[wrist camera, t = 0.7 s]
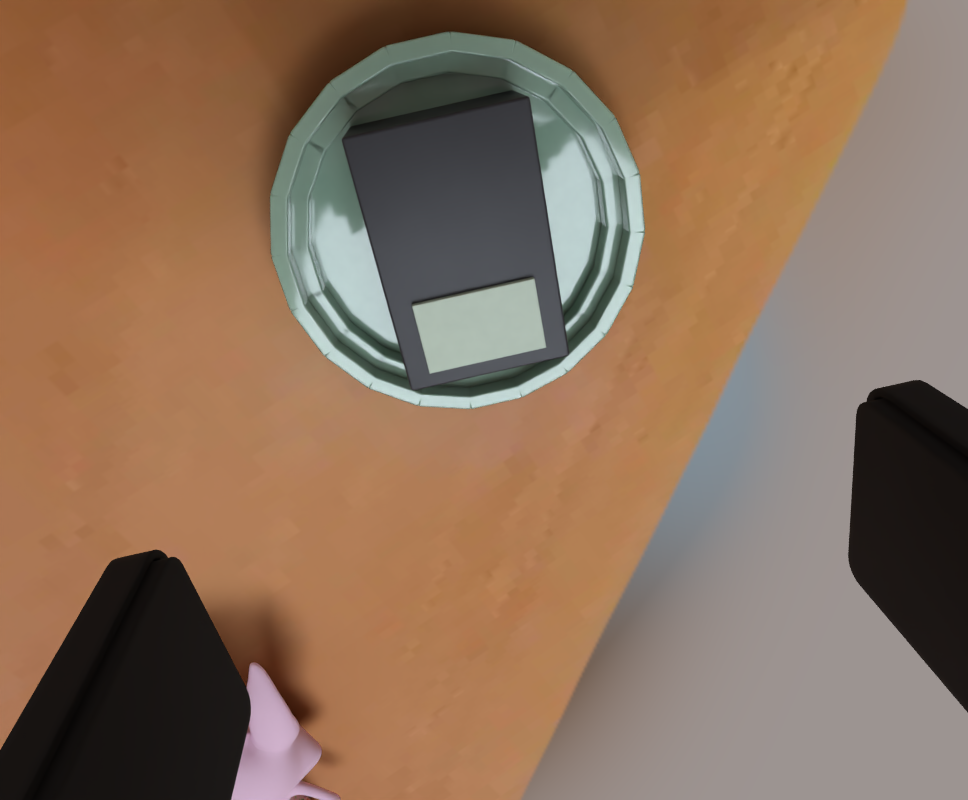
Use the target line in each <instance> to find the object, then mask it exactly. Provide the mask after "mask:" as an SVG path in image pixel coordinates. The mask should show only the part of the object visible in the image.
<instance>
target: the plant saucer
mask: <svg viewBox="0 0 968 800" xmlns="http://www.w3.org/2000/svg"><path fill="white" fill-rule="evenodd" d="M510 90H513V91H516V92H518V93H521V94H523V95H526V96H528V97H529V98H530V102H531V109H532V115H533V121H534V128H535V134H536V141H537V147H538V154H539V160H540V167H541V173H542V180H543V186H544V192H545V199H546V205H547V212H548V218H549V225H550V231H551V238H552V244H553V251H554V257H555V263H556V270H557V276H558V283H559V289H560V296H561V302H562V309H563V315H564V322H565V328H566V334H567V341H568V347H569V355H568V356H565V357H561V358H556V359H552V360H547V361H543V362H539V363H534V364H530V365H525V366H521V367H516V368H512V369H507V370H503V371H498V372H494V373H490V374H485V375H481V376H476V377H472V378H467V379H463V380H458V381H454V382H449V383H445V384H441V385H436V386H432V387H427V388H423V389H418V390H411V388H410V384H409V381H408V377H407V374H406V370H405V367H404V363H403V359H402V356H401V352H400V349H399V345H398V341H397V338H396V334H395V331H394V327H393V323H392V320H391V316H390V313H389V309H388V306H387V302H386V298H385V295H384V291H383V288H382V284H381V280H380V277H379V273H378V270H377V266H376V263H375V259H374V255H373V252H372V248H371V245H370V241H369V237H368V234H367V230H366V227H365V223H364V220H363V216H362V212H361V209H360V205H359V202H358V198H357V194H356V191H355V187H354V184H353V180H352V177H351V173H350V169H349V166H348V162H347V159H346V155H345V151H344V148H343V144H342V138H343V137H344V135H345V134H346V132H347V131H348V129H349V128H350V127H351V126H355V125H359V124H364V123H368V122H373V121H377V120H381V119H386V118H390V117H395V116H399V115H404V114H408V113H413V112H417V111H421V110H426V109H430V108H435V107H439V106H444V105H448V104H452V103H457V102H461V101H466V100H470V99H475V98H479V97H484V96H488V95H492V94H497V93H501V92H506V91H510ZM270 193H271V195H270V236H271V255H272V260H273V263H274V266H275V269H276V272H277V274H278V277H279V280H280V283H281V286H282V289H283V292H284V295H285V297H286V300H287V303H288V306H289V309H290V310H291V313H292V314H293V315H294V317H295V318H296V319H297V321H298V322H299V323H300V325H301V326H302V327H303V329H304V330H305V331H306V333H307V334H308V335H309V337H310V338H311V339H312V341H313V342H314V343H315V345H316V346H317V347H318V349H319V350H320V351H321V353H322V354H323V355H325V357H326V358H327V359H329V360H330V361H332V362H333V363H334V364H336V365H337V366H338V367H340V368H341V369H342V370H344V371H345V372H347V373H348V374H349V375H351V376H352V377H353V378H355V379H356V380H358V381H359V382H360V383H362V384H363V385H364V386H366V387H367V388H368V387H369V389H372V390H374V391H377V392H380V393H383V394H386V395H389V396H391V397H394V398H397V399H400V400H403V401H405V402H408V403H411V404H414V405H417V406H418V405H419V406H425V407H442V408H459V409H470V408H471V409H474V408H478V407H483V406H487V405H492V404H496V403H501V402H505V401H509V400H514V399H518V398H521V397H524V396H526V395H528V394H530V393H531V392H533V391H535V390H537V389H539V388H541V387H542V386H544V385H546V384H548V383H550V382H552V381H553V380H555V379H557V378H559V377H561V376H563V375H564V374H566V373H567V372H569V371H570V370H571V369H572V368H573V367H574V366H575V365H576V364H577V363H578V362H579V361H580V360H581V359H582V358H583V357H584V356H585V355H586V354H587V353H588V352H589V351H590V350H591V349H592V348H594V347H595V346H596V345H597V344H598V343H599V342H600V341H601V340H602V339H603V338H604V337H605V334H607V333H608V331H609V329H610V328H611V326H612V324H613V322H614V320H615V319H616V317H617V315H618V313H619V311H620V310H621V308H622V306H623V304H624V302H625V301H626V299H627V297H628V295H629V293H630V292H631V290H632V288H633V287H632V286H633V285H634V280H635V276H636V271H637V266H638V262H639V257H640V253H641V248H642V243H643V239H644V234H645V232H644V231H645V223H644V212H643V201H642V190H641V179H640V173H639V170H638V167H637V165H636V163H635V160H634V158H633V156H632V153H631V151H630V149H629V146H628V144H627V142H626V140H625V137H624V135H623V133H622V130H621V128H620V126H619V123H618V121H617V119H616V118H615V116H614V114H613V113H612V112H611V111H610V110H609V109H608V108H607V107H606V106H605V104H604V103H603V102H602V101H601V100H600V99H599V98H598V97H597V96H596V95H595V94H594V92H593V91H592V90H591V89H590V88H589V87H588V86H587V85H586V84H585V83H584V82H583V80H582V79H581V78H580V77H579V76H578V75H577V74H576V73H575V72H574V71H572V70H571V69H570V68H568V67H566V66H564V65H562V64H561V63H559V62H557V61H555V60H553V59H551V58H549V57H547V56H545V55H544V54H542V53H540V52H538V51H536V50H534V49H532V48H530V47H528V46H526V45H525V44H523V43H521V42H519V41H515V40H513V39H506V38H499V37H491V36H484V35H477V34H469V33H462V32H454V31H451V32H448V31H447V32H443V33H438V34H434V35H429V36H425V37H420V38H416V39H412V40H407V41H403V42H398V43H394V44H389V45H386V46H385V47H382V48H380V49H379V50H377V51H375V52H374V53H372V54H371V55H369V56H368V57H366V58H365V59H363V60H362V61H360V62H358V63H357V64H355V65H354V66H352V67H351V68H349V69H348V70H346V71H345V72H343V73H342V74H340V75H338V76H337V77H335V78H334V79H332V80H331V81H330V83H328V84H327V85H326V86H325V87H324V89H323V90H322V91H321V93H320V94H319V95H318V97H317V98H316V99H315V100H314V102H313V103H312V104H311V106H310V107H309V108H308V110H307V111H306V112H305V114H304V115H303V116H302V118H301V119H300V120H299V122H298V123H297V124H296V126H295V127H294V128H293V130H292V131H291V132H290V135H289V136H288V139H287V142H286V145H285V148H284V152H283V155H282V158H281V161H280V164H279V167H278V170H277V173H276V177H275V180H274V183H273V186H272V189H271V192H270Z"/></svg>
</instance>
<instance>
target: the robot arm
mask: <svg viewBox="0 0 968 800" xmlns="http://www.w3.org/2000/svg"><path fill="white" fill-rule="evenodd" d="M848 558H849V564H850V568H851V571H852V573H853V575H854V577H855V579H856V581H857V582H858V583H859V585H860V586H861V587H862V588H863V589H864V590H865V592H866V593H867V594H868V595H869V596H870V598H871V599H872V600H873V601H874V602H875V603H876V605H877V606H878V607H879V608H880V609H881V611H882V612H883V613H884V614H885V615H886V616H887V618H888V619H889V620H890V621H891V622H892V624H893V625H894V626H895V627H896V628H897V629H898V631H899V632H900V633H901V634H902V635H903V637H904V638H906V640H907V641H908V642H909V644H910V645H911V646H912V647H913V648H914V650H915V651H916V652H917V653H918V654H919V655H920V657H921V658H922V659H923V660H924V661H925V663H926V664H927V665H928V666H929V667H930V668H931V670H932V671H933V672H934V673H935V674H936V675H937V676H938V678H939V679H940V680H941V681H942V683H943V684H944V685H945V686H946V687H947V688H948V690H949V691H950V692H951V693H952V694H953V696H954V697H955V698H956V699H957V700H958V701H959V703H960V704H961V705H962V706H963V707H964V709H965V710H966V711H967V712H968V409H967V408H965V407H964V406H962V405H960V404H959V403H957V402H956V401H954V400H953V399H951V398H949V397H948V396H946V395H945V394H943V393H941V392H940V391H939V390H937V389H935V388H934V387H932V386H931V385H929V384H928V383H926V382H923V381H921V380H915V381H914V380H913V381H909V382H905V383H900V384H896V385H891V386H887V387H882V388H878V389H874V390H873V391H872V392H870V394H869V396H868V398H867V402H864V403H862V404H860V405H859V407H858V409H857V414H856V430H855V447H854V466H853V482H852V500H851V518H850V535H849V552H848ZM250 716H251V703H250V697H249V693H248V691H247V688H246V686H245V684H244V682H243V681H242V679H241V677H240V675H239V673H238V671H237V669H236V667H235V665H234V663H233V661H232V659H231V657H230V655H229V653H228V651H227V649H226V648H225V646H224V644H223V642H222V640H221V638H220V636H219V634H218V632H217V630H216V628H215V626H214V624H213V622H212V620H211V618H210V617H209V615H208V613H207V611H206V609H205V607H204V605H203V603H202V601H201V599H200V597H199V595H198V593H197V591H196V589H195V587H194V585H193V584H192V582H191V580H190V578H189V576H188V574H187V572H186V570H185V568H184V566H183V564H182V563H181V561H180V560H179V559H177V558H176V557H170V558H168V557H167V556H166V554H165V553H163V552H162V551H160V550H152V551H148V552H143V553H139V554H134V555H130V556H125V557H121V558H117V559H114V560H112V561H111V562H110V563H109V565H108V566H107V568H106V569H105V571H104V573H103V574H102V576H101V578H100V580H99V581H98V583H97V585H96V586H95V588H94V590H93V592H92V593H91V595H90V597H89V598H88V600H87V602H86V604H85V605H84V607H83V609H82V610H81V612H80V614H79V616H78V617H77V619H76V621H75V622H74V624H73V626H72V628H71V629H70V631H69V633H68V635H67V636H66V638H65V640H64V641H63V643H62V645H61V647H60V648H59V650H58V652H57V653H56V655H55V657H54V659H53V660H52V662H51V664H50V665H49V667H48V669H47V671H46V672H45V674H44V676H43V677H42V679H41V681H40V683H39V684H38V686H37V688H36V690H35V691H34V693H33V695H32V696H31V698H30V700H29V702H28V703H27V705H26V707H25V708H24V710H23V712H22V714H21V715H20V717H19V719H18V720H17V722H16V724H15V726H14V727H13V729H12V731H11V732H10V734H9V736H8V738H7V739H6V741H5V743H4V745H3V746H2V748H1V750H0V800H231V798H232V794H233V790H234V786H235V781H236V777H237V773H238V769H239V764H240V760H241V756H242V752H243V747H244V743H245V739H246V735H247V730H248V726H249V722H250Z"/></svg>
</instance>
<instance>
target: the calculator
mask: <svg viewBox="0 0 968 800" xmlns="http://www.w3.org/2000/svg"><path fill="white" fill-rule="evenodd" d="M342 144H343V148H344V151H345V155H346V159H347V162H348V166H349V169H350V173H351V177H352V180H353V184H354V187H355V191H356V194H357V198H358V202H359V205H360V209H361V212H362V216H363V220H364V223H365V227H366V230H367V234H368V237H369V241H370V245H371V248H372V252H373V255H374V259H375V263H376V266H377V270H378V273H379V277H380V280H381V284H382V288H383V291H384V295H385V298H386V302H387V306H388V309H389V313H390V316H391V320H392V323H393V327H394V331H395V334H396V338H397V341H398V345H399V349H400V352H401V356H402V359H403V363H404V367H405V370H406V374H407V377H408V381H409V384H410V388H411V390H418V389H423V388H427V387H432V386H436V385H441V384H445V383H449V382H454V381H458V380H463V379H467V378H472V377H476V376H481V375H485V374H490V373H494V372H498V371H503V370H507V369H512V368H516V367H521V366H525V365H530V364H534V363H539V362H543V361H547V360H552V359H556V358H561V357H565V356H568V355H569V347H568V341H567V334H566V328H565V322H564V315H563V309H562V302H561V296H560V289H559V283H558V276H557V270H556V263H555V257H554V251H553V244H552V238H551V231H550V225H549V218H548V212H547V205H546V199H545V192H544V186H543V180H542V173H541V167H540V160H539V154H538V147H537V141H536V134H535V128H534V121H533V115H532V109H531V102H530V98H529V97H528V96H526V95H523V94H521V93H518V92H516V91H513V90H510V91H506V92H501V93H497V94H492V95H488V96H484V97H479V98H475V99H470V100H466V101H461V102H457V103H452V104H448V105H444V106H439V107H435V108H430V109H426V110H421V111H417V112H413V113H408V114H404V115H399V116H395V117H390V118H386V119H381V120H377V121H373V122H368V123H364V124H359V125H355V126H351V127H350V128H349V129H348V131H347V132H346V134H345V135H344V137H343V138H342Z"/></svg>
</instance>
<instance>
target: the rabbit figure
mask: <svg viewBox="0 0 968 800" xmlns="http://www.w3.org/2000/svg"><path fill="white" fill-rule="evenodd" d="M247 691H248V693H249V697H250V703H251V716H250V722H249V726H248V730H247V735H246V739H245V743H244V747H243V752H242V756H241V760H240V764H239V769H238V773H237V777H236V781H235V786H234V790H233V794H232V798H231V800H311V799H310V798H309V797H307V796H310V797H313V798H317V799H320V800H340V797H339V795H337V794H336V793H334V792H331V791H329V790H326V789H324V788H321V787H319V786H316V785H313V784H310V783H307V782H304V781H301V780H302V779H303V778H304V776H305V775H306V774H307V773H308V772H309V771H310V770H311V769H312V768H313V767H314V766H315V765H316V763H317V762H318V761H319V759H320V757H321V753H322V749H321V746H320V745H319V743H318V742H317V741H316V740H315V739H314V738H313V737H312V736H311V735H310V734H309V733H307V732H306V731H305V730H304V729H303V728H302V727H301V726H300V724H299V723H298V721H297V719H296V718H295V717H294V716H293V714H292V713H291V711H290V709H289V707H288V706H287V704H286V703H285V701H284V699H283V698H282V696H281V695H280V693H279V692H278V690H277V688H276V687H275V685H274V683H273V682H272V680H271V678H270V677H269V675H268V674H267V672H266V671H265V670H264V669H263V667H261V666H260V665H259V664H258V663H255V662H252V663H251V664H250V666H249V675H248V683H247Z"/></svg>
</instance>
